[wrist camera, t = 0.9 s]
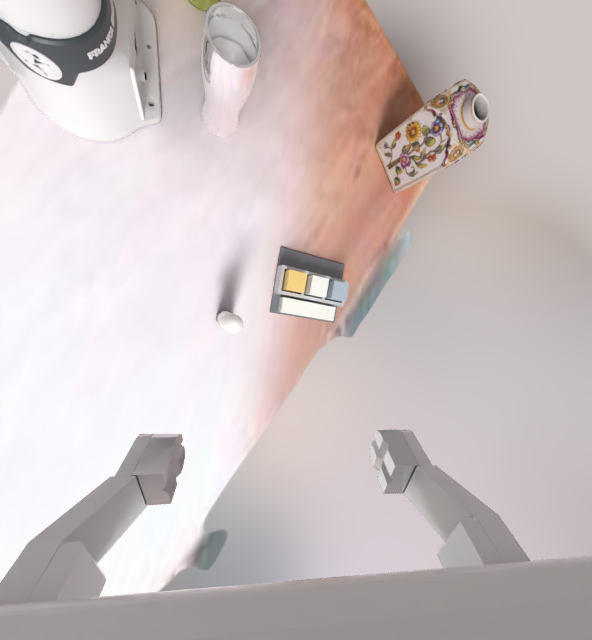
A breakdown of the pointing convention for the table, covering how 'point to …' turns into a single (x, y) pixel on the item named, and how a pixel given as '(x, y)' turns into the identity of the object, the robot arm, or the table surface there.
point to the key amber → (294, 281)
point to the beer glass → (227, 66)
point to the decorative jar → (435, 135)
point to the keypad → (301, 302)
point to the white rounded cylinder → (229, 322)
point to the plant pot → (203, 3)
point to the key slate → (337, 291)
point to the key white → (316, 286)
